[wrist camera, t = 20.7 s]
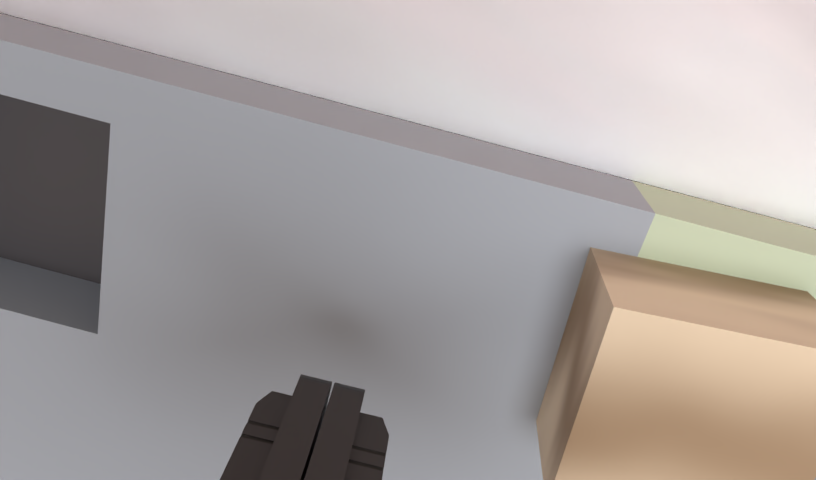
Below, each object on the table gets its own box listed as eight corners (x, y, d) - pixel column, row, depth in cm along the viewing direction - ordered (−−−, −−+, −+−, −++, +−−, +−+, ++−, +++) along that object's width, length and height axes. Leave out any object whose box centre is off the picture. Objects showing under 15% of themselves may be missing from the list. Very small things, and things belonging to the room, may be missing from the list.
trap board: (-132, -22, 20) (-275, -21, 17) (867, 242, 20) (957, 306, 16) (-92, 465, 28) (-183, 543, 24) (629, 658, 28) (652, 768, 24)
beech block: (590, 247, 18) (613, 307, 15) (807, 291, 18) (878, 361, 15) (536, 420, 20) (546, 504, 17) (727, 461, 20) (773, 554, 17)
